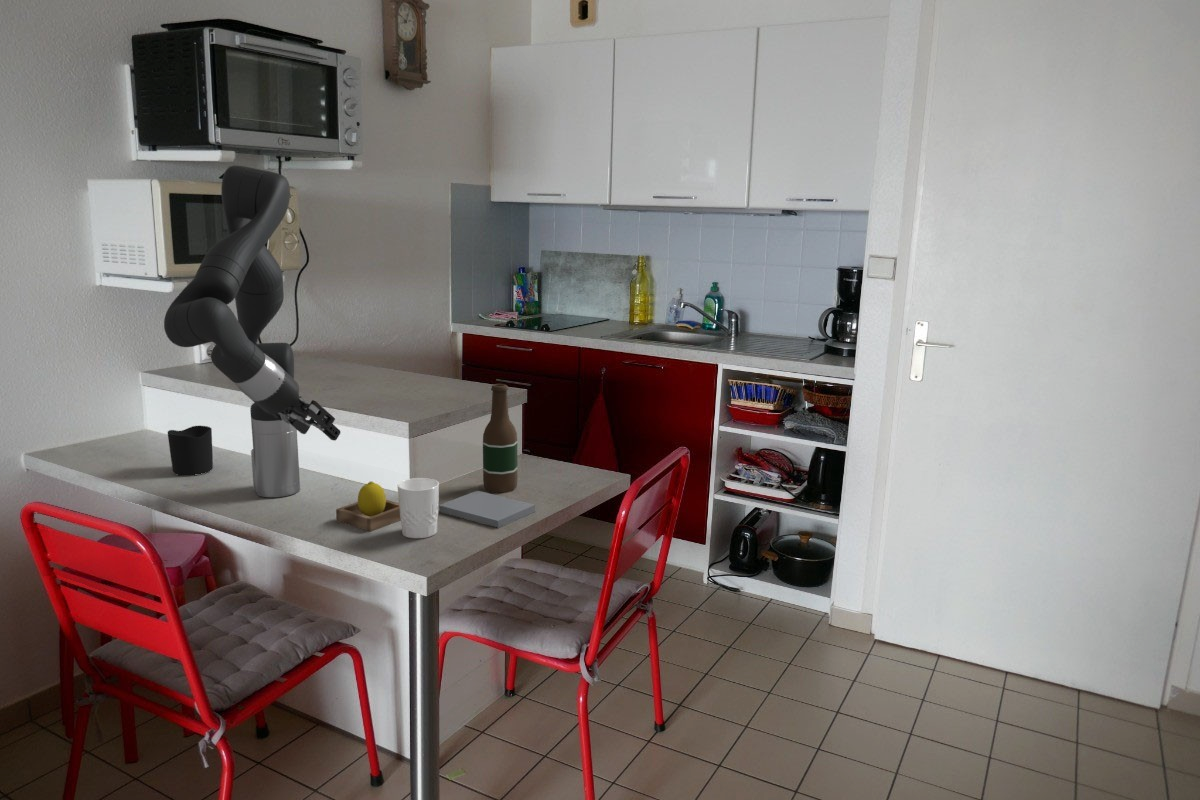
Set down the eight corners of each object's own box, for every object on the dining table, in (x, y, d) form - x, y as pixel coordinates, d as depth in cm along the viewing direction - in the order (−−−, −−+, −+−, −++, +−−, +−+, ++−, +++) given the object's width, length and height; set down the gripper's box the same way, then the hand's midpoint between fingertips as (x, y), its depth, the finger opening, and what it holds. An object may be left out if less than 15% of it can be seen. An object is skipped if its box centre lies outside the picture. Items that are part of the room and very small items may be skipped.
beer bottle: (484, 494, 196) (483, 388, 191) (482, 483, 204) (480, 381, 198) (519, 492, 198) (519, 387, 192) (515, 482, 205) (515, 381, 200)
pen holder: (207, 476, 205) (204, 435, 203) (165, 477, 204) (161, 435, 202) (219, 465, 214) (216, 425, 212) (179, 465, 213) (175, 425, 211)
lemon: (360, 514, 182) (359, 477, 180) (388, 514, 182) (386, 477, 181) (356, 524, 176) (354, 486, 175) (384, 523, 177) (383, 485, 175)
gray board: (439, 512, 184) (439, 505, 184) (477, 497, 194) (477, 490, 194) (498, 528, 176) (498, 520, 175) (534, 511, 185) (535, 504, 185)
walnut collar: (336, 520, 178) (336, 509, 178) (374, 507, 186) (373, 496, 186) (371, 531, 173) (370, 519, 172) (408, 517, 181) (407, 505, 180)
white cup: (442, 525, 177) (441, 477, 174) (436, 540, 169) (435, 490, 167) (403, 525, 176) (401, 477, 174) (395, 540, 169) (393, 490, 166)
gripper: (303, 369, 152) (358, 422, 163) (251, 361, 159) (307, 412, 171) (279, 404, 148) (336, 455, 160) (227, 394, 156) (286, 444, 168)
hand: (321, 433), depth 166 cm, fingers open, 8 cm apart
